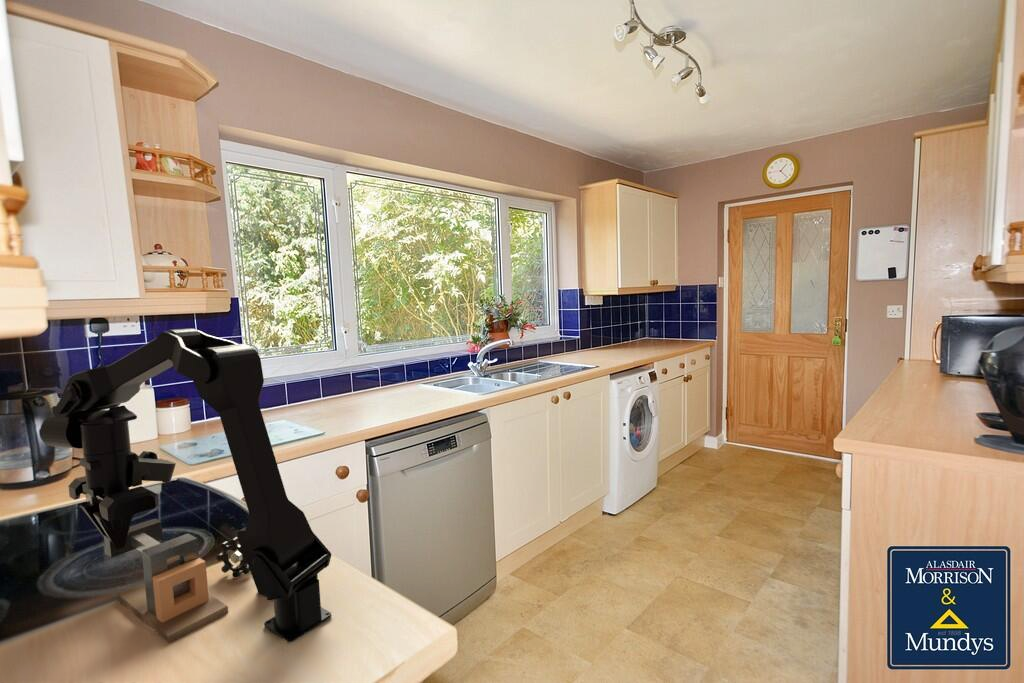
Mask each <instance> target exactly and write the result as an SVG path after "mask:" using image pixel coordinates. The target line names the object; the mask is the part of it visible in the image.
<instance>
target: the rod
mask: <svg viewBox="0 0 1024 683" xmlns="http://www.w3.org/2000/svg"><path fill="white" fill-rule="evenodd" d="M162 526H163V523H162V520H159V519H157V518H152V519H149V520H146V521H143V522H140V523H138V524H135V525H132V526H131V525H130V528H129V532H128V536H127V541H126V545H125V547H123V548H121V549H116V548H115V547H114V545H113V544H112V543H111V541H110V539H109V538H108V536H107V535H104V536H103V539H104V546H105V548H104V549H105V554H106V555H107V556H108V557H110V558H114V557H117V556H119V555H122V554H126V553H128V552H131V551H133V550H137V551H139V552H140V553H142V550H144V549H147V548H150V547H152V546H155V545H158V544H160V543H161V542H160V541H161V540H164V537H163V536H164V535H163V534H164V533H163V527H162ZM179 564H180V562H179V555H177V556H174V557H172V558H169V559H167V569H170V568H172V567H174V566H177V565H179Z"/></svg>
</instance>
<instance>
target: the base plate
mask: <svg viewBox="0 0 1024 683" xmlns="http://www.w3.org/2000/svg"><path fill="white" fill-rule="evenodd" d="M208 595H209V600H208V601H206V602H204V603H202V604H200V605H198V606H196V607H194V608H192V609H190V610H188V611H186V612H183V613H181V614H179V615H177V616H175V617H173V618H171V619H169V620H167V621H165V622H163V623H162V622H161V621H160V620H159V619H157V618H156V617H155V616H154V615H153V614H151V613H150V612H149V611H148V610H147V600H146V590H145V582H143V583H140V584H138V585H136V586H133V587H131V588H128V589H126V590H123V591H120V592H119V593H117V600H118V601H119V602H120V603H121V604H122V605H123V606H124V607H125V608H127V609H128V610H129V609H130V610H129V611H130V612H132V613H133V614H134V615H135V616H136V615H137V616H138V617H137V616H136V617H137V618H139V619H140V620H141V621H142V622H143V623H144V624H146V626H148V628H150V629H151V630H153V631H154V632H155V633H156V634H157V635H158V636H160V637H161V638H162V639H163V640H164V641H165V642H166V643H168V644H170V643H172V642H174V641H175V640H177V639H180V638H182V637H183V636H186V635H187V634H189V633H191V632H193V631H195V630H197V629H198V628H200V627H202V626H204V625H206V624H209V623H211V622H212V621H214V620H216V619H218V618H219V617H222V616H224V615H226V614H228V613H229V609H228V607H229V606H228V605H227V604H225V602H222V601H221V600H219V599H218V598H217V597H215V596H213V595H212V594H210V593H209V592H208Z"/></svg>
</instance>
